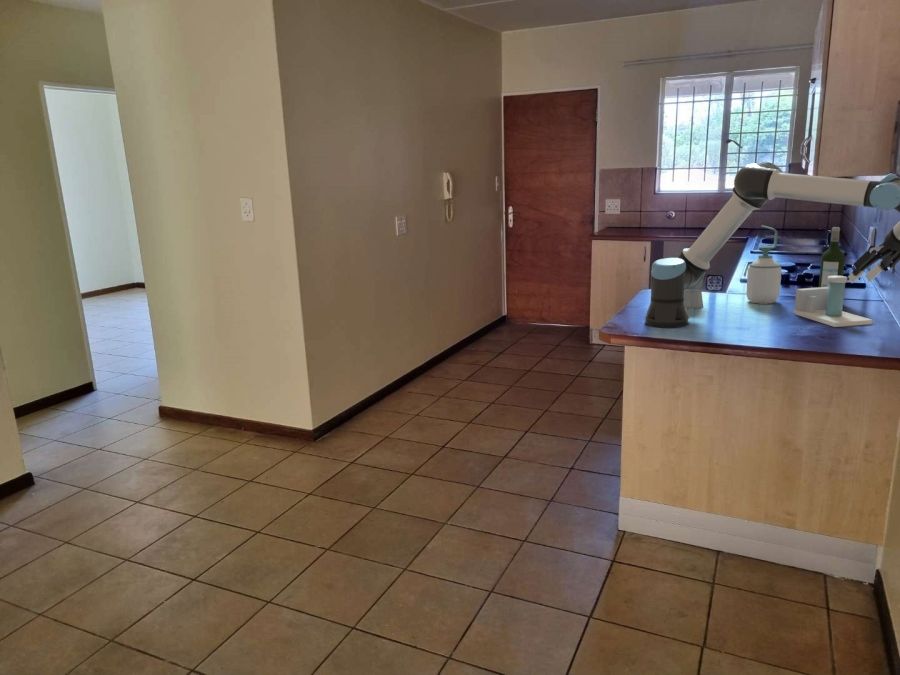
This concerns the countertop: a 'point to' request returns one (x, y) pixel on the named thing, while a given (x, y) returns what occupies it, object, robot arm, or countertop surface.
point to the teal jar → (835, 295)
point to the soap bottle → (764, 276)
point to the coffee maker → (694, 296)
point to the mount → (823, 308)
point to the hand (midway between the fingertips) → (859, 278)
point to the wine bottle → (832, 260)
